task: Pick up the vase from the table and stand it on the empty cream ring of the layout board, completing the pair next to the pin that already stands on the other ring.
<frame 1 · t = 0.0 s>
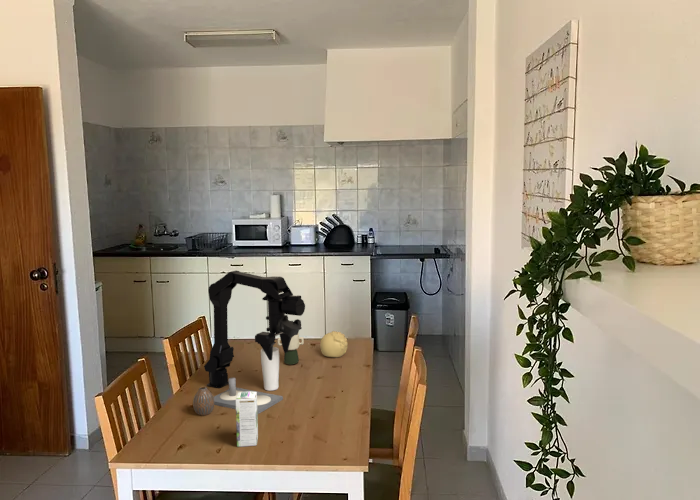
hand: (278, 356, 202), 15 cm above the table, tool pointing down, fingers open, 9 cm apart
white tapered cylinder: (271, 389, 212), on the table
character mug: (291, 363, 241), on the table
vase: (204, 413, 191), on the table
sculpture: (334, 356, 251), on the table
syrup box: (248, 442, 168), on the table
layout board: (245, 401, 200), on the table
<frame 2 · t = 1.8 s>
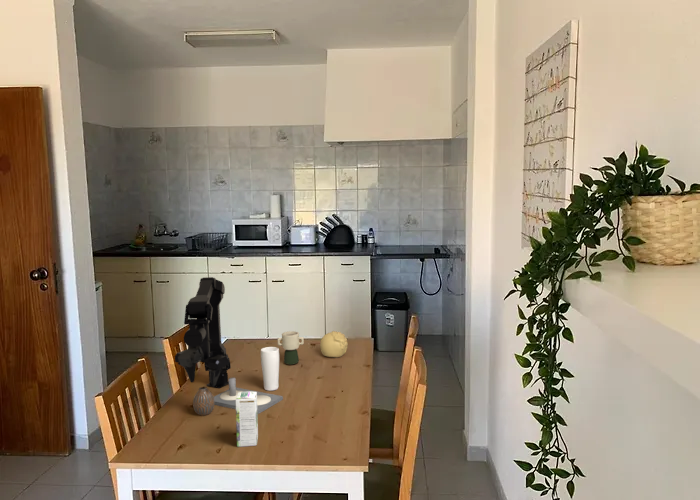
hand: (202, 384, 190), 10 cm above the table, tool pointing down, fingers open, 9 cm apart
nothing on the table moved.
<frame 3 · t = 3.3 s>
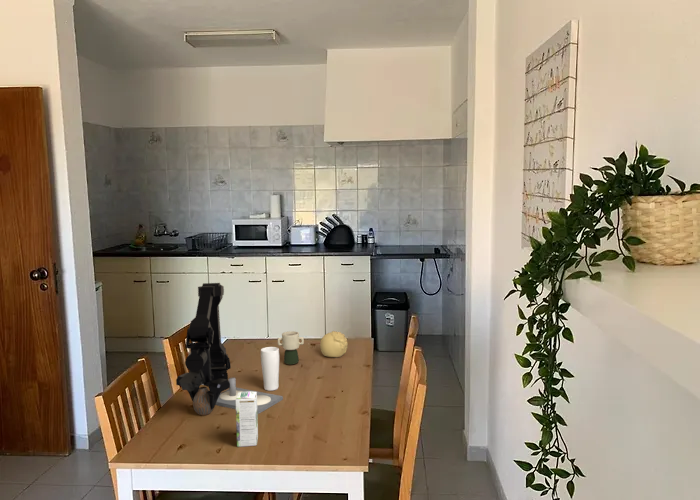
hand: (204, 407, 190), 2 cm above the table, tool pointing down, fingers closed on vase, 7 cm apart
vase: (204, 413, 191), on the table, touching gripper
everything else where it was.
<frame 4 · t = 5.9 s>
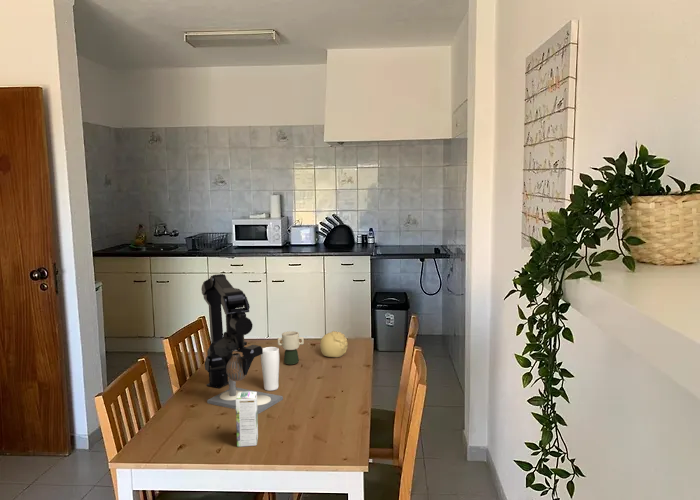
hand: (237, 373, 193), 12 cm above the table, tool pointing down, fingers closed on vase, 7 cm apart
vase: (237, 379, 194), point 10 cm above the table, touching gripper
everything else where it was.
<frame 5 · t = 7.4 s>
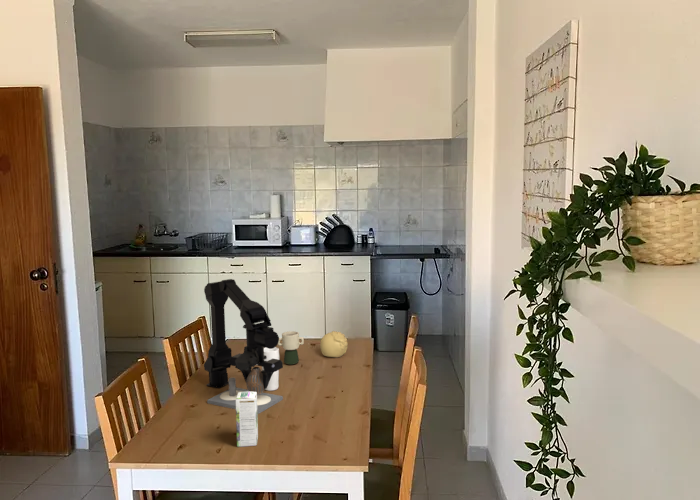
hand: (256, 386, 197), 6 cm above the table, tool pointing down, fingers closed on vase, 7 cm apart
vase: (257, 393, 197), point 4 cm above the table, touching gripper
everything else where it was.
when the fingers open (5 cm above the table, at t = 8.6 s): vase drops 1 cm, resting on layout board.
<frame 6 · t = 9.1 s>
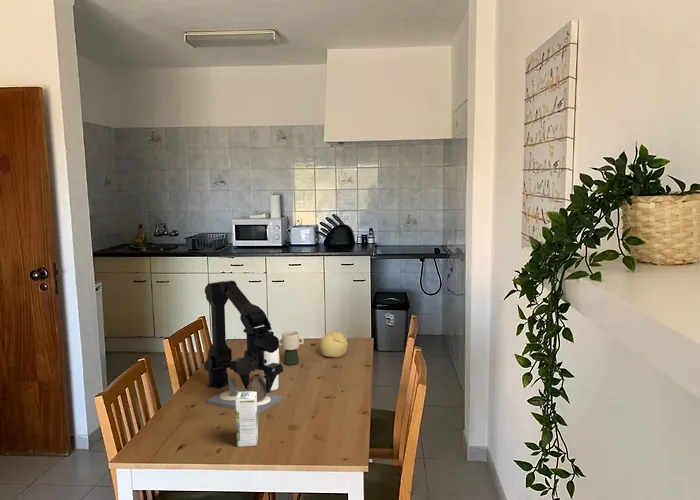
hand: (257, 390, 197), 5 cm above the table, tool pointing down, fingers open, 9 cm apart
vase: (257, 400, 197), point 1 cm above the table, touching layout board
everything else where it was.
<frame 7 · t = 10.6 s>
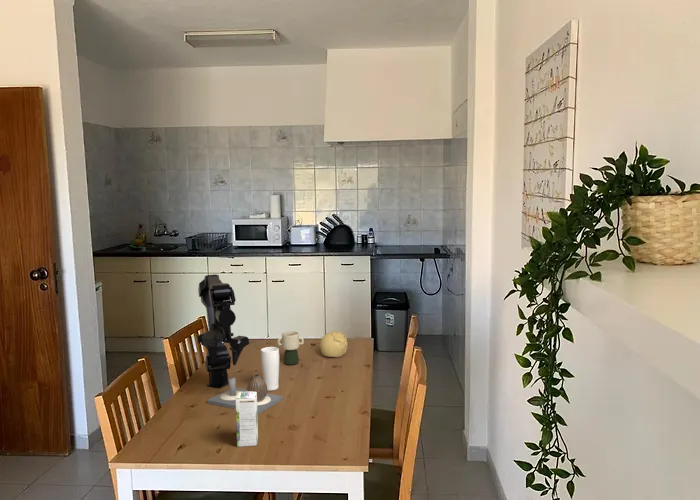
hand: (224, 363, 201), 13 cm above the table, tool pointing down, fingers open, 9 cm apart
nothing on the table moved.
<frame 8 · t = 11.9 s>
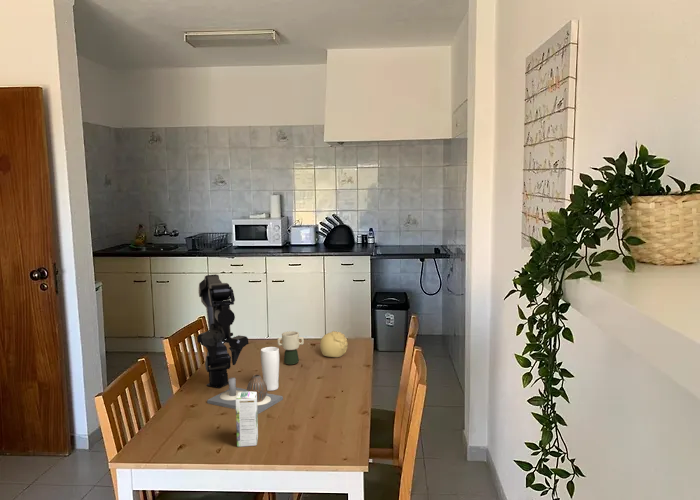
hand: (223, 363, 201), 13 cm above the table, tool pointing down, fingers open, 9 cm apart
nothing on the table moved.
at the end: vase 0.1 cm from the target spot on the layout board, point 1.2 cm above the layout board's base; vase tilted 0°; the gripper is holding nothing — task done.
